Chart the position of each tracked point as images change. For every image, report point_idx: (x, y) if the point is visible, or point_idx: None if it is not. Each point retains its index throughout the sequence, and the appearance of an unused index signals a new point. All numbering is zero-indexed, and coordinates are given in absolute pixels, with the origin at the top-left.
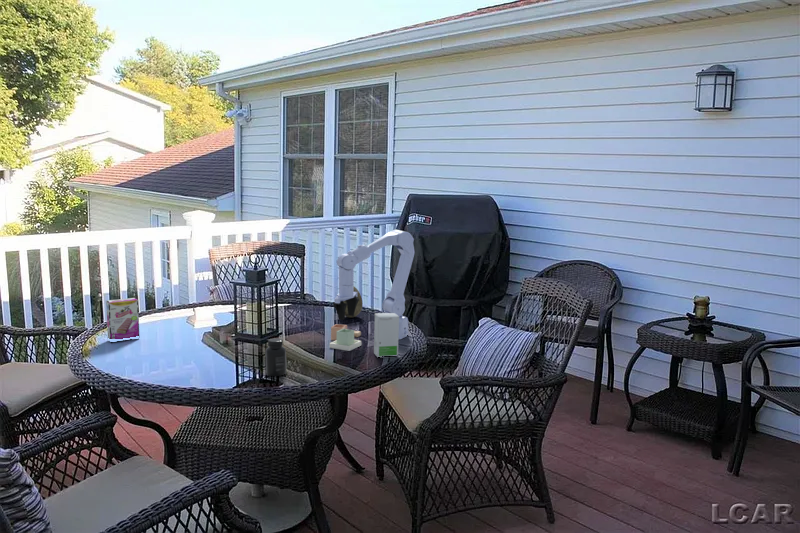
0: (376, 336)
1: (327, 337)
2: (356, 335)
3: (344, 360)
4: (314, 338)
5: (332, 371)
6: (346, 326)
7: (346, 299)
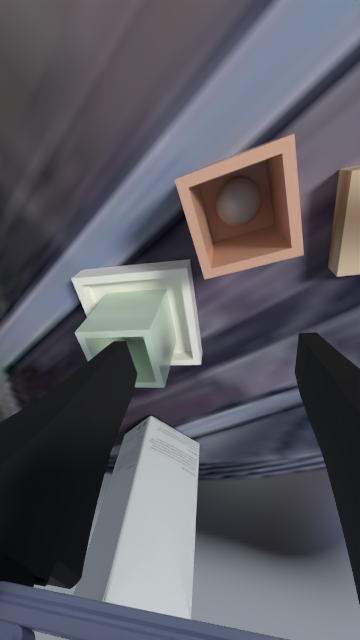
0: (111, 494)
1: (225, 93)
2: (332, 263)
3: (40, 383)
4: (140, 10)
5: None
6: (285, 256)
7: (171, 637)
